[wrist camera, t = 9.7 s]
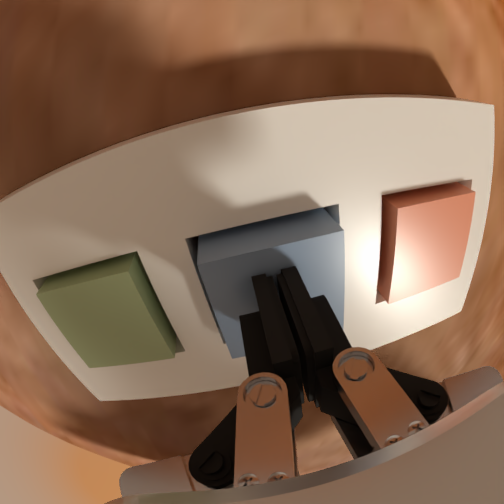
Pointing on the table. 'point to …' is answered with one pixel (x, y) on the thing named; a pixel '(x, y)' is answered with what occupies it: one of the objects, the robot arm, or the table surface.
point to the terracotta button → (423, 238)
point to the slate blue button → (271, 265)
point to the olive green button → (109, 312)
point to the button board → (246, 217)
